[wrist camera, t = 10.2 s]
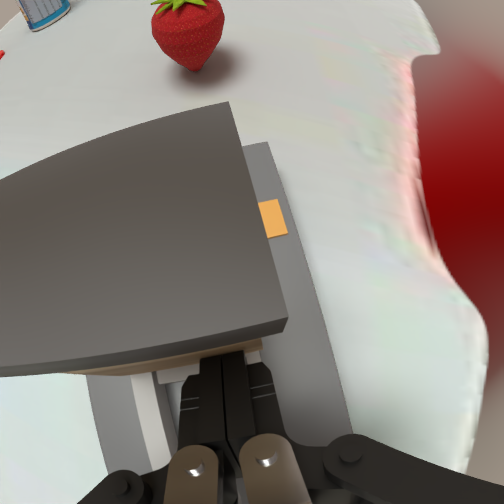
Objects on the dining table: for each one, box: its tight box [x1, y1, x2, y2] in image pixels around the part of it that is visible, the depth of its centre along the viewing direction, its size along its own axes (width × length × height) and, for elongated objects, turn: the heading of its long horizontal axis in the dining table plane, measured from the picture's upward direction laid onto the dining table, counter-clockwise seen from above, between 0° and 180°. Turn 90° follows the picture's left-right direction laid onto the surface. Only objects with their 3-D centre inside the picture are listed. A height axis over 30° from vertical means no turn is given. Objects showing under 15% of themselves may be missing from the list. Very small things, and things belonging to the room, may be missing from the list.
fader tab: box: [0, 101, 289, 384], centre depth 9 cm, size 4×7×11 cm, turn 103°
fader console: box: [86, 142, 353, 504], centre depth 14 cm, size 26×12×4 cm, turn 13°
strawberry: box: [151, 0, 225, 71], centre depth 21 cm, size 6×8×10 cm
